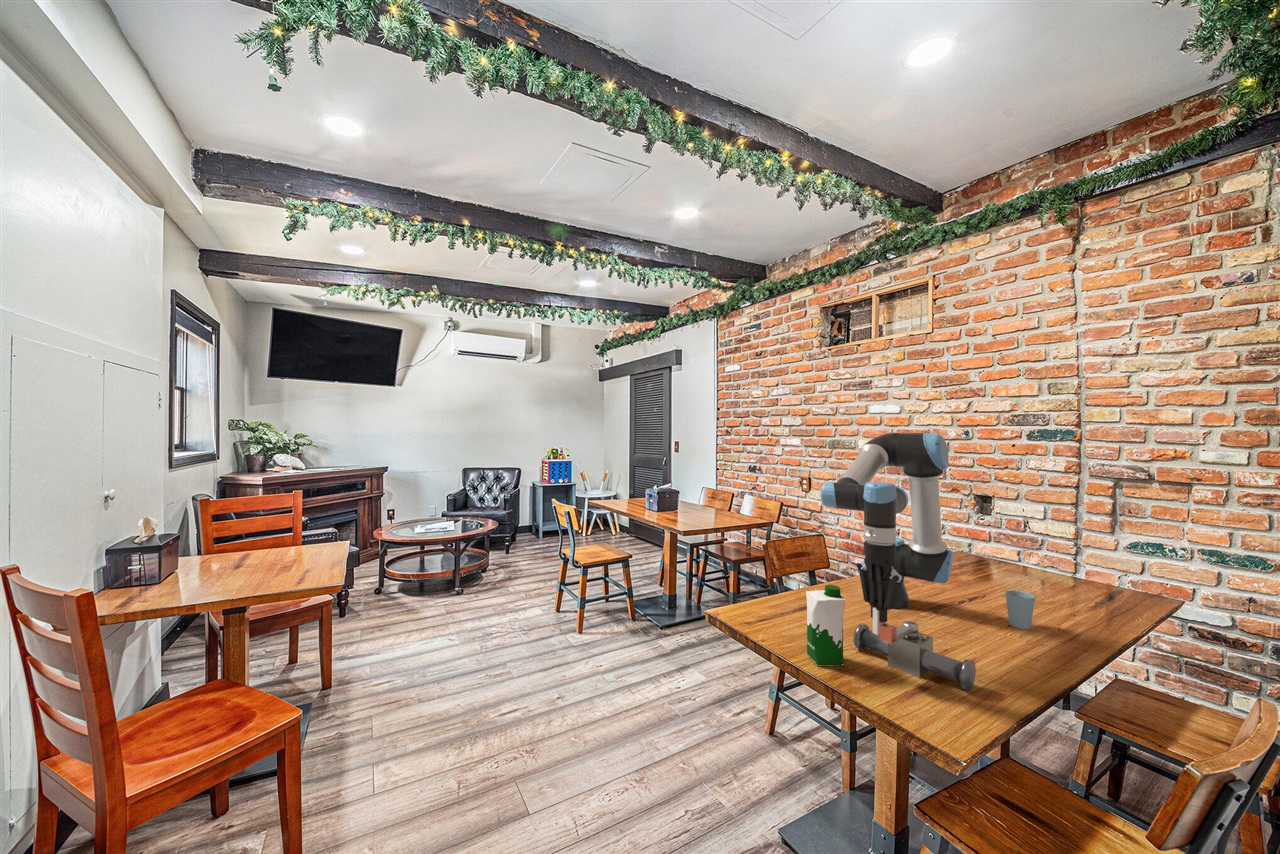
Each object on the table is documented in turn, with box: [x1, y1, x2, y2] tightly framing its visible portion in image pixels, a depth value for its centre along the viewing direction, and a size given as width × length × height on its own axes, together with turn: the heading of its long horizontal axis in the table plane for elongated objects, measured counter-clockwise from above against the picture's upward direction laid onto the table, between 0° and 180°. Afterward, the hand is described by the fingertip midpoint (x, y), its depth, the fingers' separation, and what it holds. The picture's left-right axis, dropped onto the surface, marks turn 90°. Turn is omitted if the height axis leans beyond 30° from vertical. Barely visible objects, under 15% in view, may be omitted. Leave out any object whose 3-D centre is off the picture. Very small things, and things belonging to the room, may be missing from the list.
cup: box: [1005, 589, 1036, 630], centre depth 157 cm, size 8×8×10 cm
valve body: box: [853, 623, 977, 692], centre depth 129 cm, size 28×8×10 cm, turn 37°
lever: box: [880, 620, 919, 644], centre depth 125 cm, size 15×4×4 cm, turn 127°
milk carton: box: [805, 584, 846, 666], centre depth 132 cm, size 9×9×20 cm
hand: (878, 632), depth 124 cm, fingers closed
